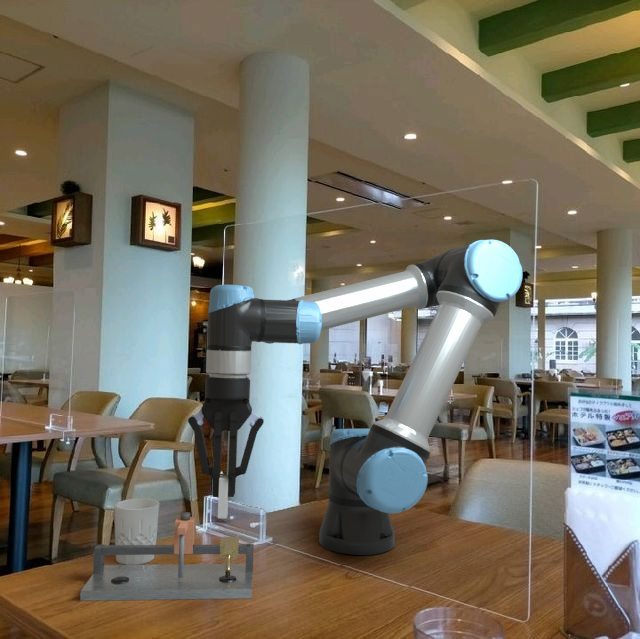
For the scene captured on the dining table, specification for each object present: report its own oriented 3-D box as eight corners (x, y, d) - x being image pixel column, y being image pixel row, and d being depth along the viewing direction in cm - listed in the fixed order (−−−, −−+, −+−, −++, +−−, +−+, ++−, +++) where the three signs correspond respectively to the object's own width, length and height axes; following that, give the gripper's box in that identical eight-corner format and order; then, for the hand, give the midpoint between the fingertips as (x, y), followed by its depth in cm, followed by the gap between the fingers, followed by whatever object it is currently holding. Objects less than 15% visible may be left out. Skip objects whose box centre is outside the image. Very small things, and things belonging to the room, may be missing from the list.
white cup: (145, 568, 109) (146, 510, 110) (104, 564, 111) (106, 507, 111) (165, 553, 117) (166, 500, 117) (126, 550, 119) (128, 497, 119)
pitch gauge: (252, 572, 108) (253, 534, 109) (251, 598, 97) (252, 555, 98) (99, 574, 106) (100, 534, 106) (80, 600, 95) (81, 556, 95)
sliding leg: (194, 564, 106) (195, 510, 106) (189, 579, 100) (191, 521, 100) (176, 565, 106) (177, 510, 106) (170, 579, 99) (172, 521, 100)
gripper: (266, 375, 111) (261, 510, 110) (191, 373, 109) (186, 509, 108) (266, 378, 103) (261, 522, 102) (186, 375, 102) (180, 522, 101)
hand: (222, 515), depth 105 cm, fingers closed
